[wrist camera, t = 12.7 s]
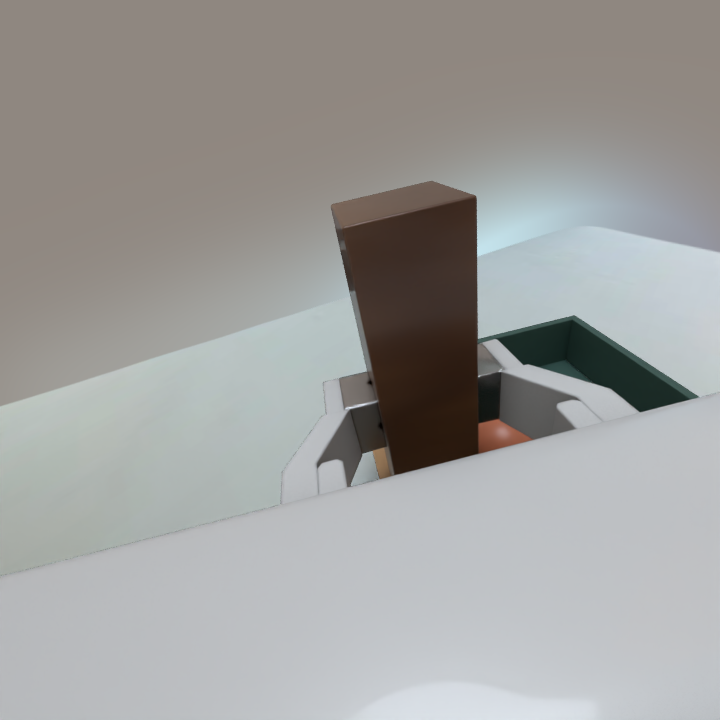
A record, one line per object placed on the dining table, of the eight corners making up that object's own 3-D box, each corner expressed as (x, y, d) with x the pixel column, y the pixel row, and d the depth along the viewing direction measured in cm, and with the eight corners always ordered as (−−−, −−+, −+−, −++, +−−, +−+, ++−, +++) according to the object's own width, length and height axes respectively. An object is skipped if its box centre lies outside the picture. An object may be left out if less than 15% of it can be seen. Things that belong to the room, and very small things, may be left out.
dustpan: (573, 965, 8) (601, 989, 6) (384, 402, 23) (377, 363, 21) (1468, 700, 8) (1739, 649, 6) (694, 325, 24) (710, 281, 22)
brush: (434, 704, 11) (337, 320, 3) (373, 453, 19) (307, 189, 12) (548, 674, 11) (681, 236, 4) (437, 437, 19) (410, 165, 12)
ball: (523, 475, 18) (463, 483, 18) (508, 412, 19) (450, 418, 18) (564, 475, 15) (492, 485, 14) (544, 400, 16) (476, 407, 15)
